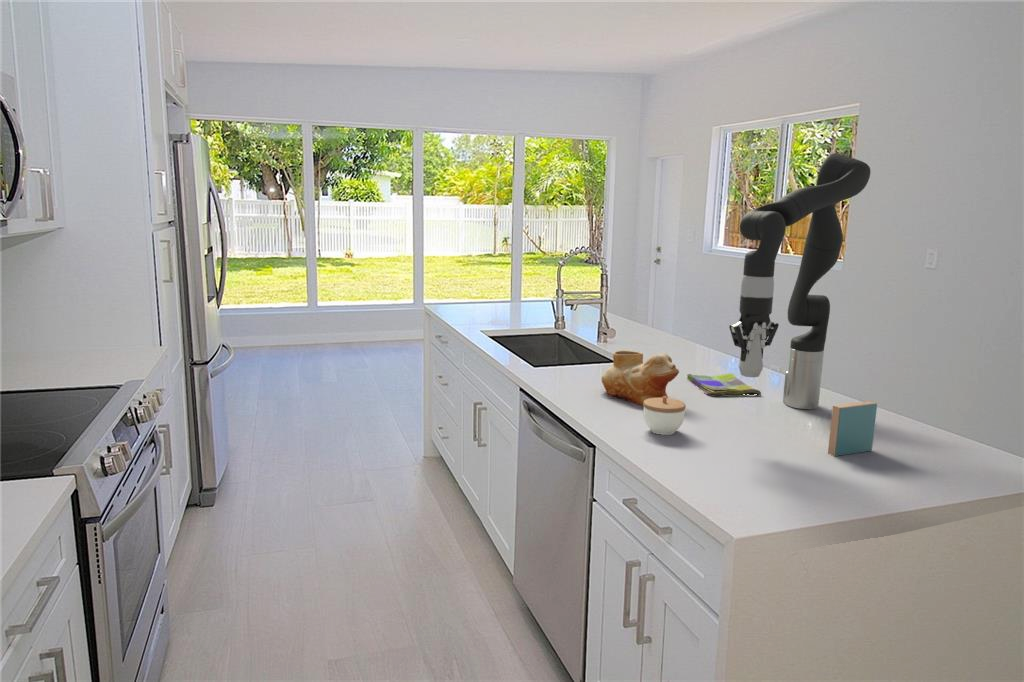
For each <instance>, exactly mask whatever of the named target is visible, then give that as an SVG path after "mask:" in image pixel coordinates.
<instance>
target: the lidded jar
mask: <svg viewBox="0 0 1024 682" xmlns="http://www.w3.org/2000/svg"><path fill="white" fill-rule="evenodd" d="M642 407H643V419H644V422H645V424H646V426H647V427H648V428H649V430H650V432H651V433H653V434H655V433H656V435H659V434H661V435H662V436H670V435H674V434H675V432H676V431H678V430H679V429H680V428H681V426H682V425H683V422H684V419H685V418H684V417H685V415H686V413H685V412H686V403H685V402H684V401H681V400H679V399H675V398H670V397H668V398H667V397H666V396H663V398H649V399H646V400H645V401H644V402H643V406H642ZM661 435H660V436H661Z"/></svg>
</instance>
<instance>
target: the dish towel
mask: <svg viewBox="0 0 1024 682" xmlns="http://www.w3.org/2000/svg"><path fill="white" fill-rule="evenodd" d="M686 376H687V379H688V380H689V382H690V383H692V385H694V387H696V386H697V387H698V388H699V389H698V388H697V387H696V388H697V389H698V390H699V391H701V390H702V391H703V392H704V393H703V392H702V391H701V392H702V393H703V394H704V395H706V396H711V395H743V394H745V395H747V394H749V395H754V394H757V395H760V396H761V394H762V391H760V390H759V389H757V388H753V387H752V386H750V385H748V384H746V382H743V381H742V380H741V379H739V378H738V377H736V375H735V374H733V373H724V374H720V375H712V376H710V375H709V376H708V375H697V374H691V373H687V375H686Z"/></svg>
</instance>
